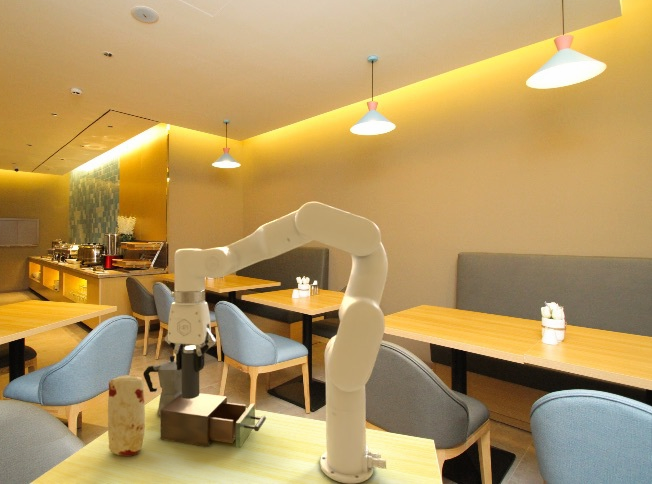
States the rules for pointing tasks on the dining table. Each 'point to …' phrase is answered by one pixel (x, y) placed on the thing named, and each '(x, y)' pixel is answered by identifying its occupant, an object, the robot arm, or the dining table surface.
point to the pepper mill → (189, 373)
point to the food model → (126, 415)
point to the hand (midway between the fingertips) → (190, 368)
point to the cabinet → (189, 419)
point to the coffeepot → (165, 381)
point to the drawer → (233, 423)
